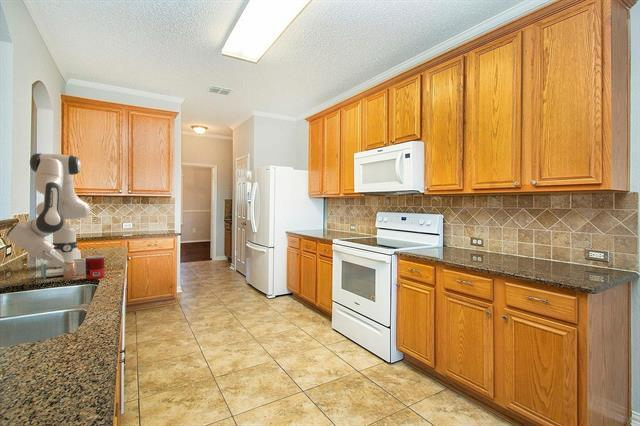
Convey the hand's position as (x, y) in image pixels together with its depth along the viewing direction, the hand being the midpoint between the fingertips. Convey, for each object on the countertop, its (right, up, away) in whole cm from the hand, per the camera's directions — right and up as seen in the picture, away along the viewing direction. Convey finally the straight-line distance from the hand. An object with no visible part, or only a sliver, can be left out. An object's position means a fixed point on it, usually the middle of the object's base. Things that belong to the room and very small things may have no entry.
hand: (69, 268), depth 165 cm
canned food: (+11, -6, +3) cm, 12 cm away
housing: (-6, -5, +13) cm, 15 cm away
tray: (-12, -5, +7) cm, 15 cm away
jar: (0, -5, 0) cm, 5 cm away
